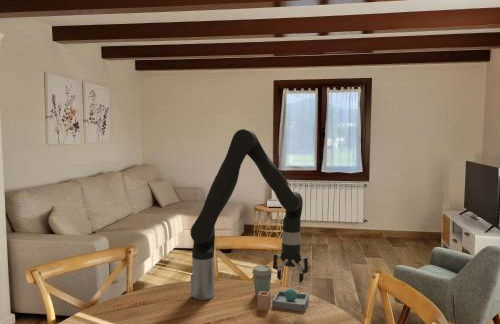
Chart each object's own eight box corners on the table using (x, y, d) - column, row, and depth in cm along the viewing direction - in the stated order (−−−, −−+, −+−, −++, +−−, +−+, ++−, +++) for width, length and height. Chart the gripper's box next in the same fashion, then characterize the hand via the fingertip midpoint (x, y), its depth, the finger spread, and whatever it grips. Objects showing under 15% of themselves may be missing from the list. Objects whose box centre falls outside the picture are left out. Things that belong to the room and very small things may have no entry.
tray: (272, 307, 162) (272, 300, 162) (278, 296, 173) (278, 290, 172) (304, 311, 158) (304, 304, 158) (308, 300, 169) (308, 294, 169)
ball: (283, 302, 164) (283, 290, 163) (285, 297, 169) (286, 286, 168) (295, 304, 162) (295, 292, 162) (297, 299, 167) (298, 287, 167)
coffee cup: (270, 300, 169) (270, 272, 168) (250, 298, 171) (250, 270, 170) (273, 292, 178) (273, 265, 177) (254, 290, 179) (254, 264, 178)
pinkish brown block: (257, 309, 160) (257, 294, 160) (260, 305, 164) (260, 290, 164) (267, 310, 159) (267, 296, 159) (270, 306, 163) (270, 292, 163)
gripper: (271, 242, 162) (270, 281, 163) (307, 245, 158) (306, 286, 159) (276, 237, 169) (275, 275, 170) (310, 241, 165) (309, 279, 166)
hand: (290, 280), depth 165 cm, fingers open, 8 cm apart
